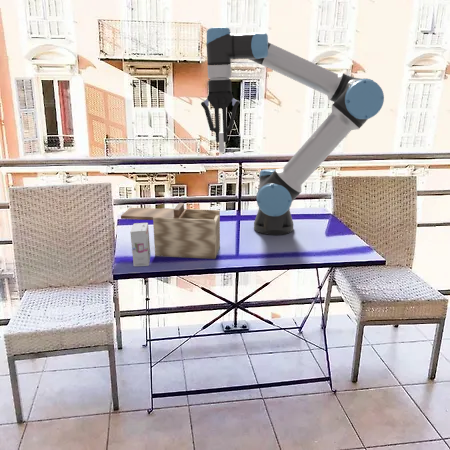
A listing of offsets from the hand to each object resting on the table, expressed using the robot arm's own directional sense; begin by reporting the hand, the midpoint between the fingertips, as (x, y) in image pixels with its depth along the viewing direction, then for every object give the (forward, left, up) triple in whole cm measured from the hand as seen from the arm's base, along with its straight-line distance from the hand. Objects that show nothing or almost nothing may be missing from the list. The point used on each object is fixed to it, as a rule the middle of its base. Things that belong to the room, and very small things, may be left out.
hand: (222, 151), depth 157 cm
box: (+10, +14, -32) cm, 36 cm away
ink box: (+23, +24, -32) cm, 46 cm away
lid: (+21, +14, -19) cm, 32 cm away
